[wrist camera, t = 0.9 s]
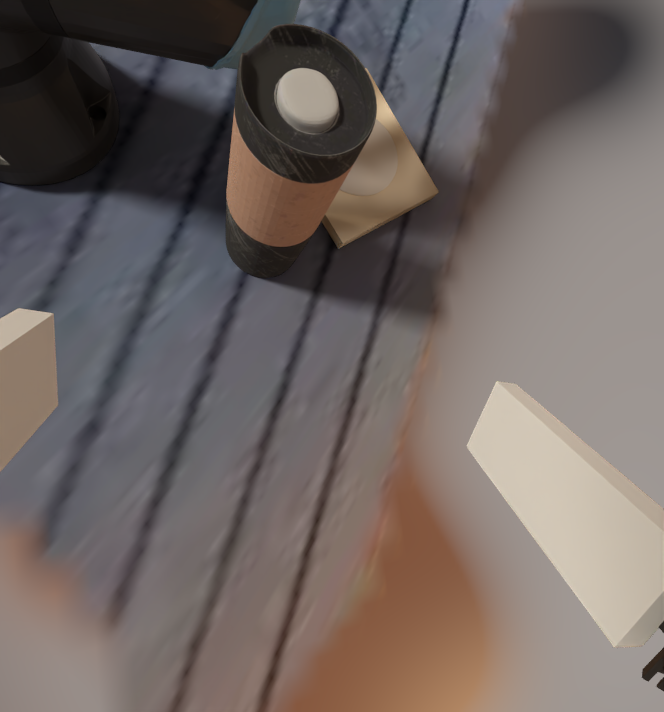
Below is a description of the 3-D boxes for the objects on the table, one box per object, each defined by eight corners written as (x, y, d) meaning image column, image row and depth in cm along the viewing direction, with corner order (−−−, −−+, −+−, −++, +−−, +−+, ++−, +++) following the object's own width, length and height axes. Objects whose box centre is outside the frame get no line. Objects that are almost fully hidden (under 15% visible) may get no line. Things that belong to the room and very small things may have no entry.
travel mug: (303, 280, 40) (389, 164, 21) (226, 282, 37) (244, 153, 18) (294, 209, 40) (370, 33, 21) (219, 206, 38) (227, 7, 19)
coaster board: (258, 116, 40) (260, 104, 39) (361, 78, 45) (366, 66, 43) (338, 248, 41) (343, 242, 40) (431, 198, 46) (439, 191, 44)
